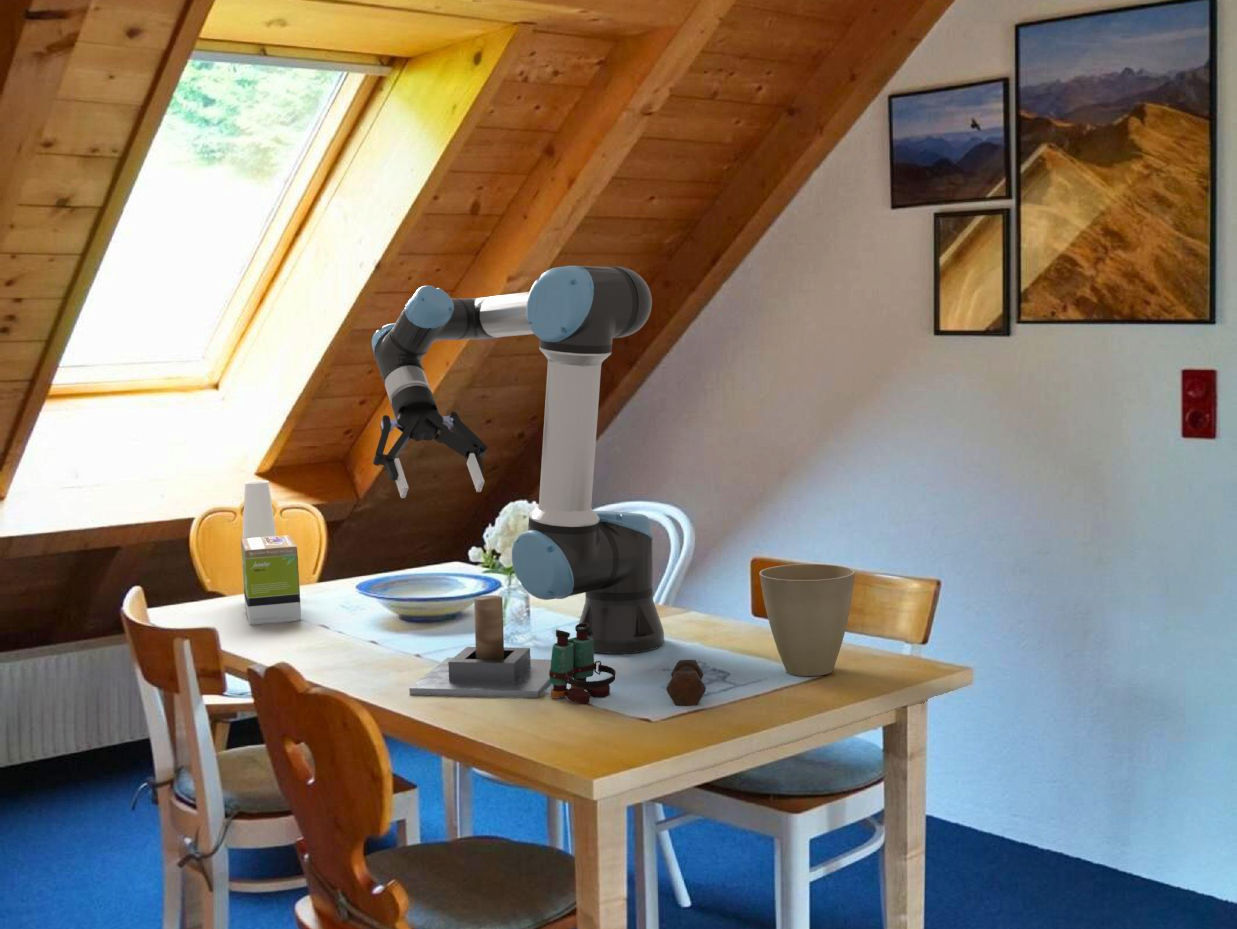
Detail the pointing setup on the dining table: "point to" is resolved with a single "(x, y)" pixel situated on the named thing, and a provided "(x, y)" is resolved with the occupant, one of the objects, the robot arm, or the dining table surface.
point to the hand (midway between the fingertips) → (443, 490)
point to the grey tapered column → (258, 510)
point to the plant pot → (808, 613)
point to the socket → (487, 676)
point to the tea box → (271, 579)
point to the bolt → (686, 683)
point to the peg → (489, 627)
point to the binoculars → (577, 668)
